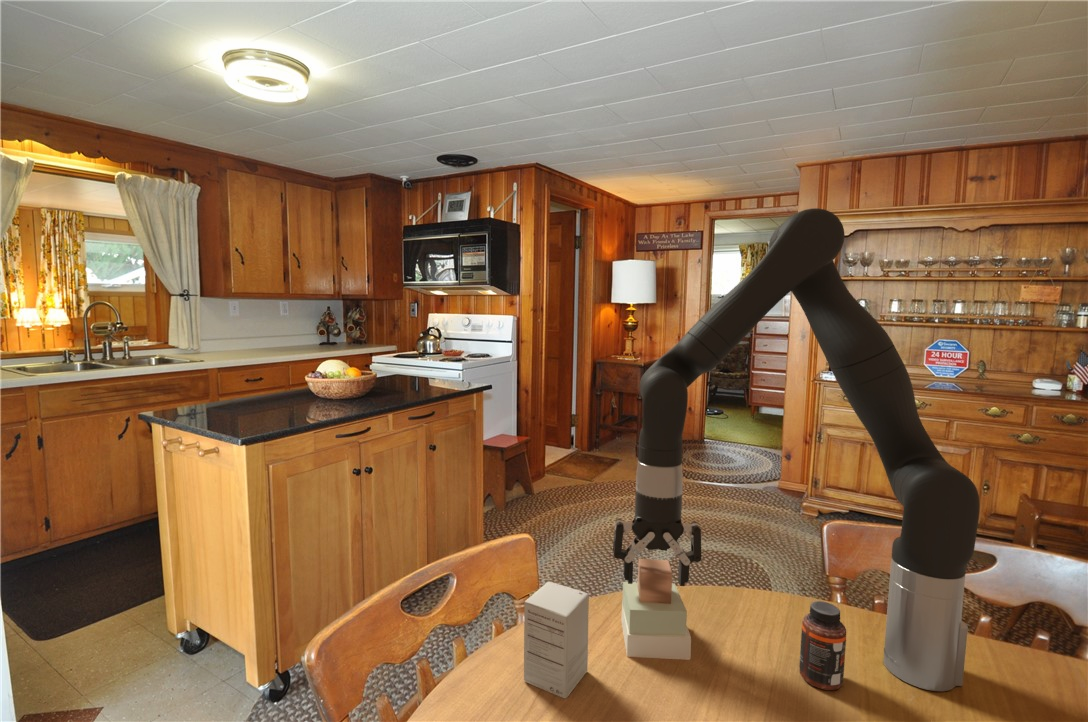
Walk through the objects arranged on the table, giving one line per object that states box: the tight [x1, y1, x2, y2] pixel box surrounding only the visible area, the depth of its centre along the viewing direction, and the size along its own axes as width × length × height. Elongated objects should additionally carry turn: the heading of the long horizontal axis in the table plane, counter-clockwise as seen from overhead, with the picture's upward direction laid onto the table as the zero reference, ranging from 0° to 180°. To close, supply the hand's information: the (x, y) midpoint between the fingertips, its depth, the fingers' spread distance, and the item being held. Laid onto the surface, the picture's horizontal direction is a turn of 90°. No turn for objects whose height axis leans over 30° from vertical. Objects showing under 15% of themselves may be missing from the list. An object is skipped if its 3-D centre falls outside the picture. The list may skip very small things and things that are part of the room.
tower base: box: [620, 603, 692, 661], centre depth 91 cm, size 10×10×4 cm
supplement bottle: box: [799, 600, 847, 691], centre depth 81 cm, size 6×6×11 cm
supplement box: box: [523, 581, 590, 699], centre depth 81 cm, size 7×7×13 cm
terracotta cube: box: [637, 558, 673, 604], centre depth 91 cm, size 5×5×5 cm
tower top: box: [621, 581, 688, 635], centre depth 91 cm, size 9×9×4 cm
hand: (655, 582), depth 90 cm, fingers open, 8 cm apart
